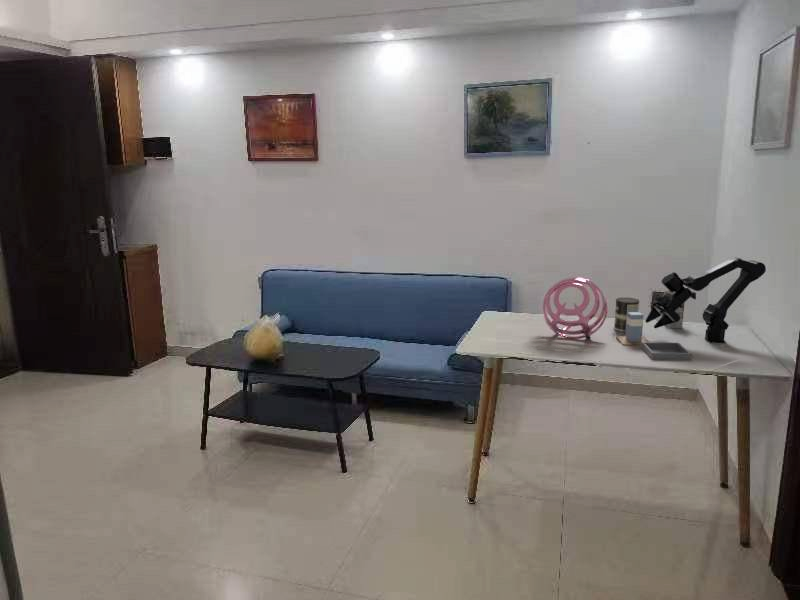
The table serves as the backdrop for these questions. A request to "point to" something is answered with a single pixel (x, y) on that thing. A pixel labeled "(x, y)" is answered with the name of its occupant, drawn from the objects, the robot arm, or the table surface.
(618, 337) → the pad
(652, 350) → the tray
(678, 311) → the coffee box
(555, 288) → the spiral basket
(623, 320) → the coffee can
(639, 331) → the carton
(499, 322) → the table surface
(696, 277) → the robot arm
